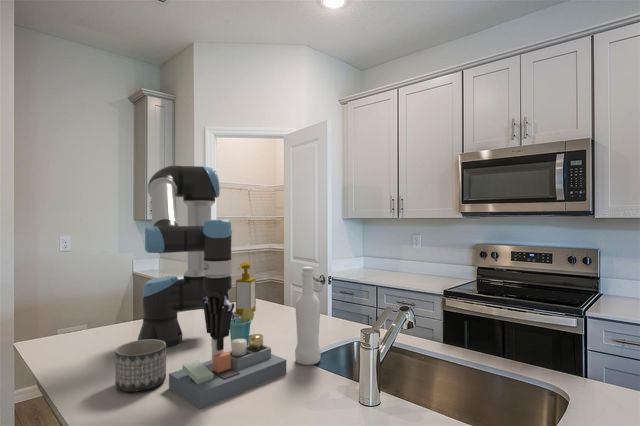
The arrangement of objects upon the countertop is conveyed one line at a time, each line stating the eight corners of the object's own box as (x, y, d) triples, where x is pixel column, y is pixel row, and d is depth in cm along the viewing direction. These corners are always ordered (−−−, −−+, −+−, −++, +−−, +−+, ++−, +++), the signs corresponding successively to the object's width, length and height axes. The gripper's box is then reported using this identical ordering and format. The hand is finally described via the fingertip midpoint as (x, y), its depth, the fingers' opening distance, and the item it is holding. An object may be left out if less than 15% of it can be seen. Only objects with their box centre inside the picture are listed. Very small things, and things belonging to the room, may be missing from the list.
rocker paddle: (182, 369, 102) (182, 364, 102) (197, 364, 105) (198, 359, 105) (197, 384, 97) (198, 379, 96) (212, 378, 100) (213, 373, 100)
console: (168, 388, 103) (168, 363, 103) (253, 359, 124) (253, 338, 124) (199, 409, 93) (199, 381, 92) (286, 373, 113) (286, 350, 113)
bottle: (301, 368, 117) (301, 269, 117) (291, 358, 124) (291, 266, 124) (325, 363, 121) (325, 267, 121) (313, 354, 128) (313, 264, 128)
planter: (130, 374, 112) (130, 338, 112) (173, 375, 112) (173, 339, 112) (105, 395, 100) (105, 355, 100) (153, 395, 99) (153, 355, 99)
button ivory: (228, 353, 110) (228, 341, 110) (240, 349, 113) (240, 337, 113) (237, 357, 107) (237, 344, 107) (249, 353, 110) (249, 340, 110)
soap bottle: (231, 316, 174) (231, 264, 174) (241, 309, 186) (241, 261, 186) (246, 317, 172) (246, 265, 172) (255, 310, 185) (255, 261, 185)
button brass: (245, 347, 115) (245, 336, 115) (257, 344, 118) (257, 333, 118) (254, 351, 112) (254, 339, 112) (265, 347, 115) (265, 336, 115)
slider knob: (213, 370, 104) (213, 355, 104) (225, 365, 107) (225, 351, 107) (217, 372, 102) (217, 357, 102) (230, 368, 105) (230, 353, 105)
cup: (235, 362, 121) (235, 314, 121) (215, 358, 125) (215, 312, 124) (259, 347, 134) (259, 305, 134) (241, 344, 137) (241, 302, 137)
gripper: (193, 274, 108) (193, 358, 108) (218, 279, 99) (218, 371, 99) (216, 271, 113) (216, 351, 113) (242, 276, 104) (242, 363, 104)
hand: (217, 360), depth 106 cm, fingers closed
